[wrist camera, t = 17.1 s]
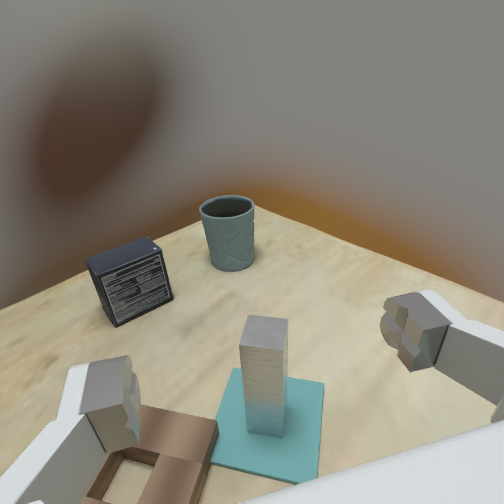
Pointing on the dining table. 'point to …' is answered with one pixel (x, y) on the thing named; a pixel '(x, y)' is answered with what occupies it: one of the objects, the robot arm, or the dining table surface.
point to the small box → (130, 280)
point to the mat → (267, 447)
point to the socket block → (164, 457)
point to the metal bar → (265, 374)
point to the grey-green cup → (229, 231)
